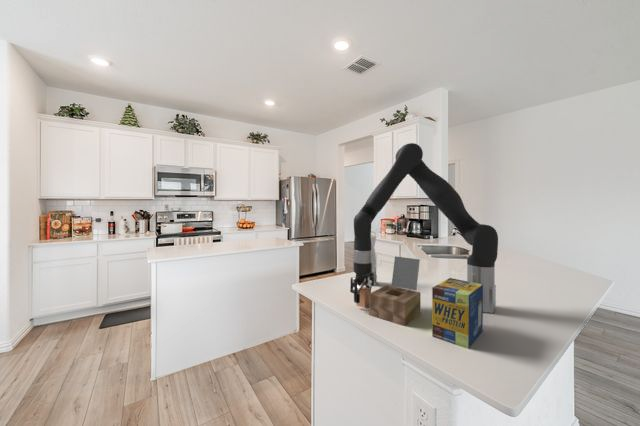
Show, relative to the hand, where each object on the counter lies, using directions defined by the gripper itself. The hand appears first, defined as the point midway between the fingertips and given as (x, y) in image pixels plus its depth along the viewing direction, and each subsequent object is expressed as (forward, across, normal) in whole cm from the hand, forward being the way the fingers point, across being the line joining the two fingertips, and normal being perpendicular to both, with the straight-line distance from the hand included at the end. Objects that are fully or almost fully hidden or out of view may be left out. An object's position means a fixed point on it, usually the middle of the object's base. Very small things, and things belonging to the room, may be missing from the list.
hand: (362, 299), depth 107 cm
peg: (+2, 0, 0) cm, 2 cm away
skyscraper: (+2, +27, +13) cm, 30 cm away
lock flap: (-12, +9, -14) cm, 21 cm away
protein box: (+2, -1, -36) cm, 36 cm away
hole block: (+2, 0, -14) cm, 14 cm away
